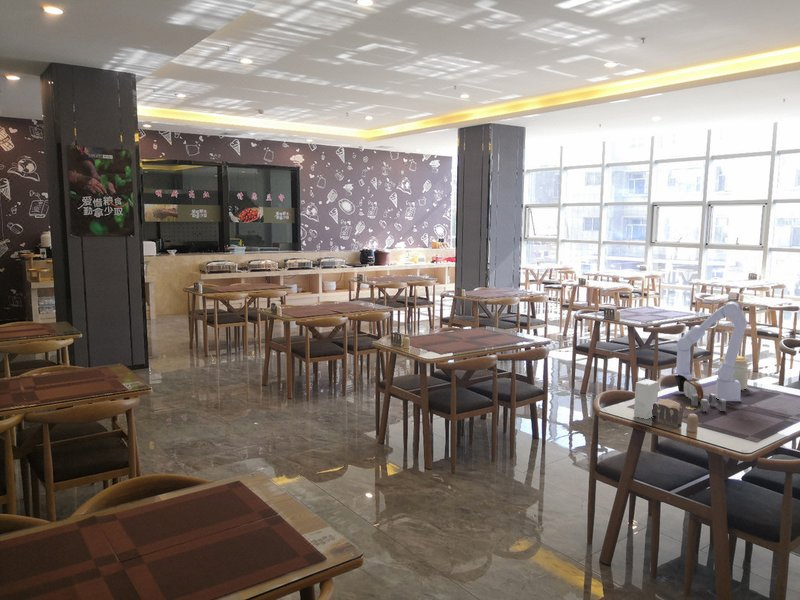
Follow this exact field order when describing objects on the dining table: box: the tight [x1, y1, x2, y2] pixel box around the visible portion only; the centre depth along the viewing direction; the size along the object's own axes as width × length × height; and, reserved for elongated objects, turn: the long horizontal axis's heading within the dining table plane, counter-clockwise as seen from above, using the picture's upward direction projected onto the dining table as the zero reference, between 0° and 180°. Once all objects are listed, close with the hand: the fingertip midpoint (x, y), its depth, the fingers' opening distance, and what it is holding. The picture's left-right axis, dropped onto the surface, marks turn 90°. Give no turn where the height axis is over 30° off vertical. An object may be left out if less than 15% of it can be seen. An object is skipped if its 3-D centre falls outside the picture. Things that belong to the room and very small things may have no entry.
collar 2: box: [700, 398, 727, 413], centre depth 263 cm, size 10×2×5 cm, turn 92°
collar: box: [690, 393, 717, 407], centre depth 271 cm, size 10×2×5 cm, turn 92°
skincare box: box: [633, 378, 660, 420], centre depth 254 cm, size 8×6×15 cm
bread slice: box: [683, 379, 704, 403], centre depth 280 cm, size 15×3×8 cm, turn 179°
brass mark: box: [685, 406, 697, 411], centre depth 267 cm, size 4×4×1 cm
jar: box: [717, 354, 750, 391], centre depth 301 cm, size 13×13×18 cm
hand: (681, 391), depth 290 cm, fingers closed
